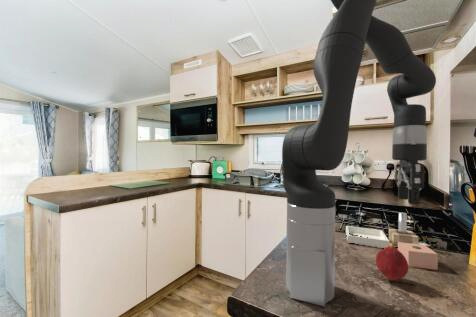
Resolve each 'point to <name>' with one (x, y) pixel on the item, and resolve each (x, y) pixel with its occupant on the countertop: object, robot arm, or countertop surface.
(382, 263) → the onion
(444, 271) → the countertop surface
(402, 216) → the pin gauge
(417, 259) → the terracotta block
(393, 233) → the oak block
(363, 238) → the tray
